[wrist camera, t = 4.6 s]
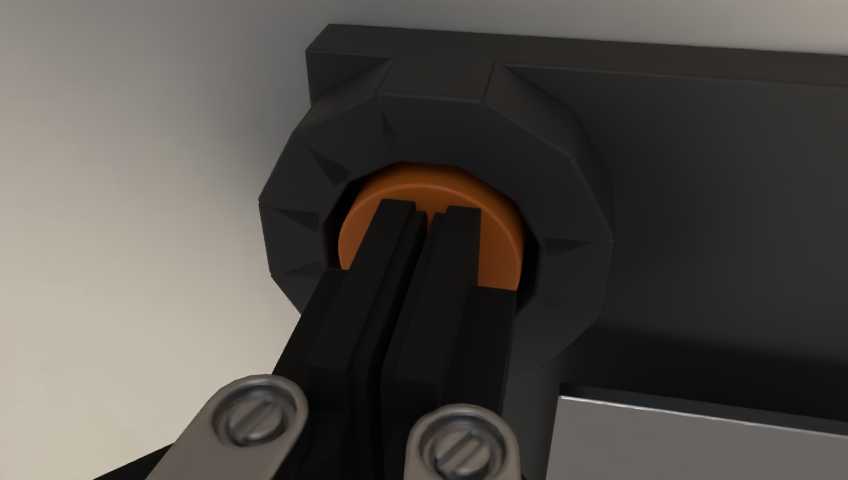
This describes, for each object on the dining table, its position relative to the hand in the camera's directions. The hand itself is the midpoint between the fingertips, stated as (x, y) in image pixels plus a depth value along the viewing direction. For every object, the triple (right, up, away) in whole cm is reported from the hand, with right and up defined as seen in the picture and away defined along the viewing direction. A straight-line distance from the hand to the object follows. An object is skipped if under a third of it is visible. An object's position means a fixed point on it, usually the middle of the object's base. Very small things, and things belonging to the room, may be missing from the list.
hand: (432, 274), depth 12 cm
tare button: (0, +1, +1) cm, 2 cm away
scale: (+5, -3, +5) cm, 7 cm away
